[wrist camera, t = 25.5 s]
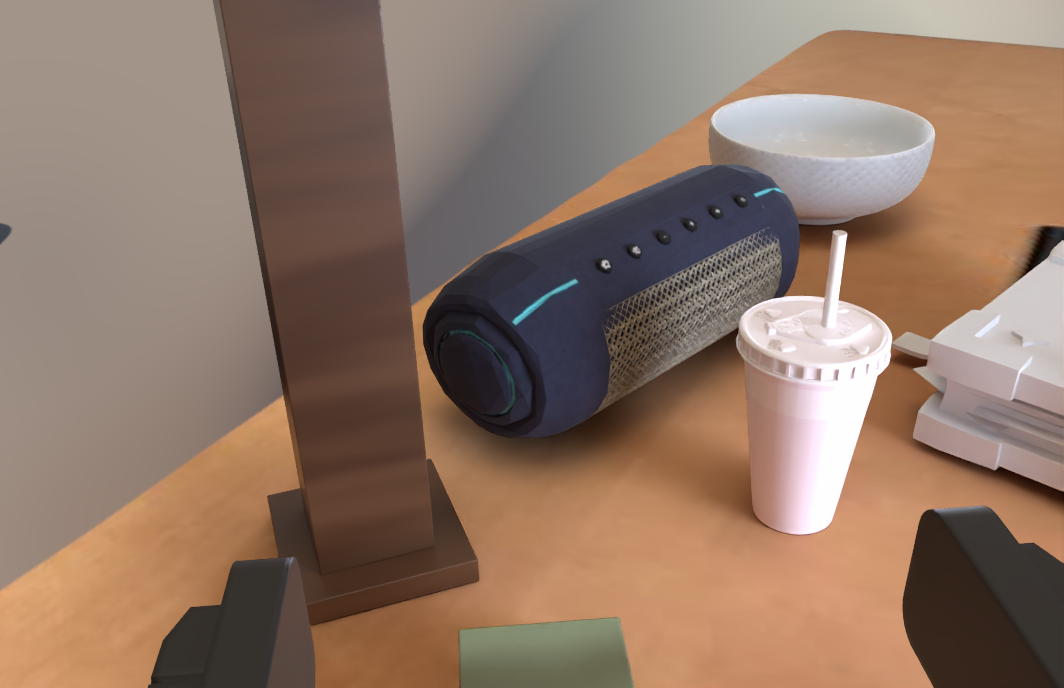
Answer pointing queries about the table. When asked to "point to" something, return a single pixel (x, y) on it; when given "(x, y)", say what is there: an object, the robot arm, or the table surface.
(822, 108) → the cereal bowl
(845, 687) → the table surface
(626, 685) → the green wooden mallet
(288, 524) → the stand
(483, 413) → the portable speaker
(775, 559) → the table surface
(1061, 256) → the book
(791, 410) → the smoothie
